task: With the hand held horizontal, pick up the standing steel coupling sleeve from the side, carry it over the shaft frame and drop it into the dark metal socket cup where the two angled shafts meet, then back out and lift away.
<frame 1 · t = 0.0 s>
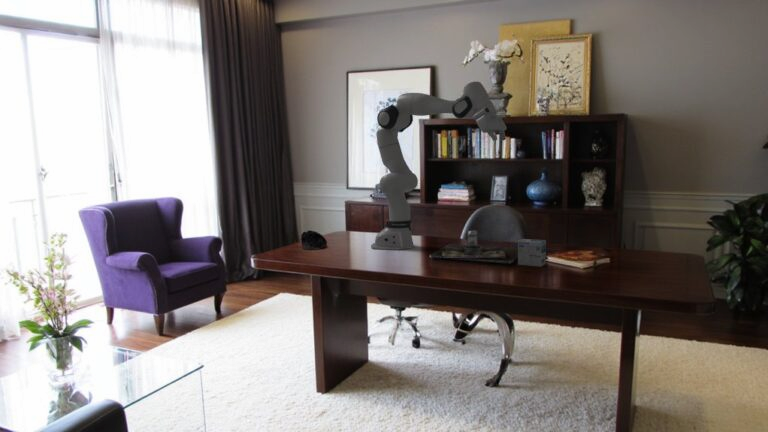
hand: (500, 140, 252), 54 cm above the table, fingers open, 8 cm apart
crystal cluster: (314, 248, 296), on the table
coupling sleeve: (472, 251, 276), on the table
light bulb box: (531, 264, 245), on the table
shaft frame: (473, 256, 263), on the table
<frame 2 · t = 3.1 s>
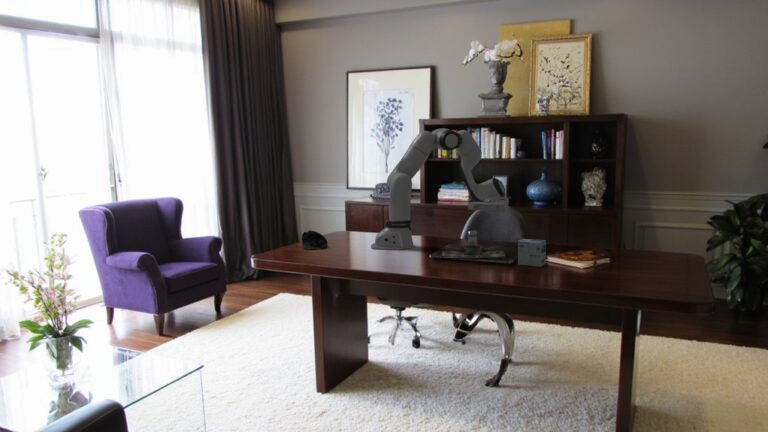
hand: (481, 208, 284), 20 cm above the table, fingers open, 8 cm apart
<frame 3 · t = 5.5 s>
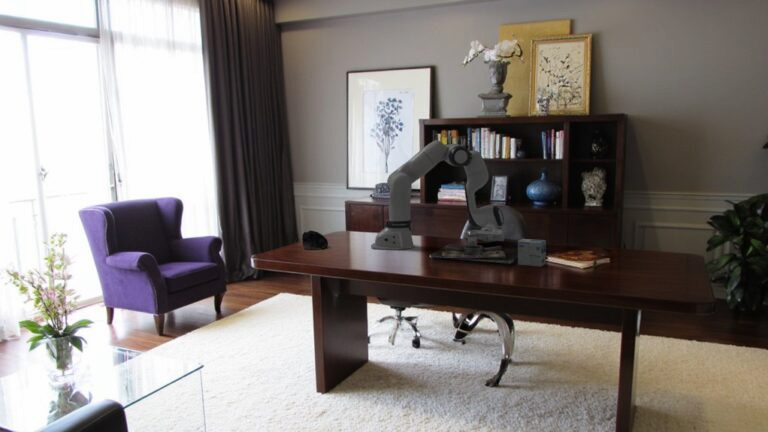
hand: (478, 237, 282), 5 cm above the table, fingers open, 8 cm apart
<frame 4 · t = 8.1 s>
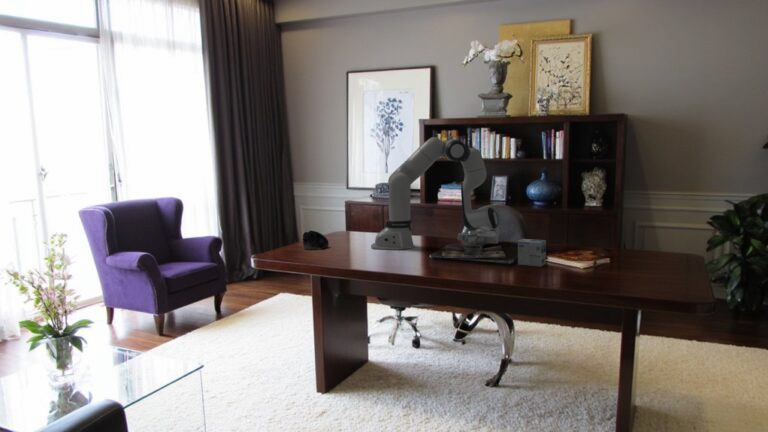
hand: (471, 240, 275), 6 cm above the table, fingers closed on coupling sleeve, 4 cm apart
coupling sleeve: (472, 251, 276), on the table, touching gripper
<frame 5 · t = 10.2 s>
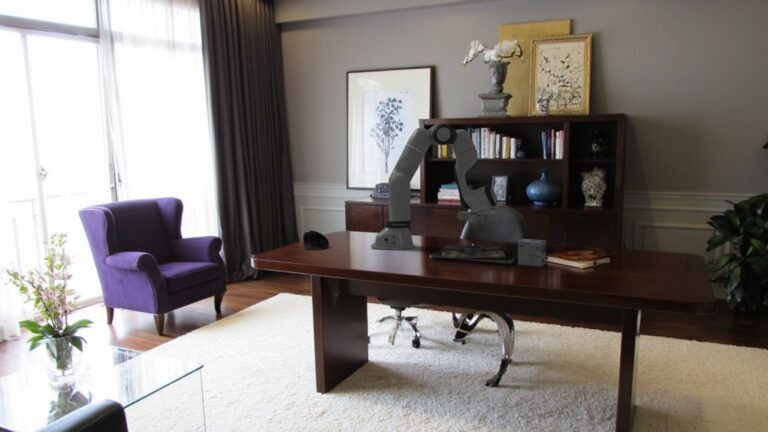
hand: (471, 218, 271), 17 cm above the table, fingers closed on coupling sleeve, 4 cm apart
coupling sleeve: (472, 229, 273), point 11 cm above the table, touching gripper
when the fingers open (9 cm above the table, at t = 12.7 s): coupling sleeve drops 2 cm, resting on shaft frame.
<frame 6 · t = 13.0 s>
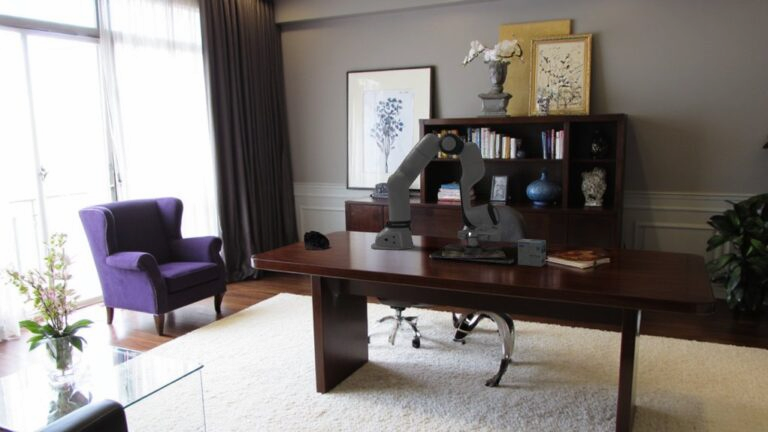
hand: (472, 238, 262), 9 cm above the table, fingers open, 7 cm apart
coupling sleeve: (473, 253, 263), point 2 cm above the table, touching shaft frame
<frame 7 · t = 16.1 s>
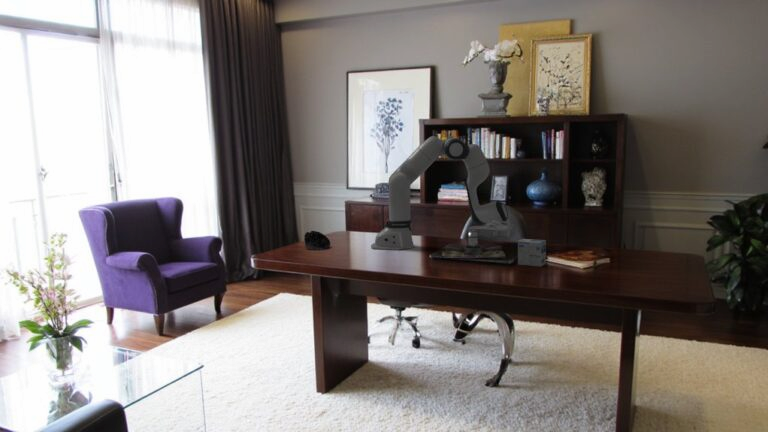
hand: (483, 233, 272), 9 cm above the table, fingers open, 8 cm apart
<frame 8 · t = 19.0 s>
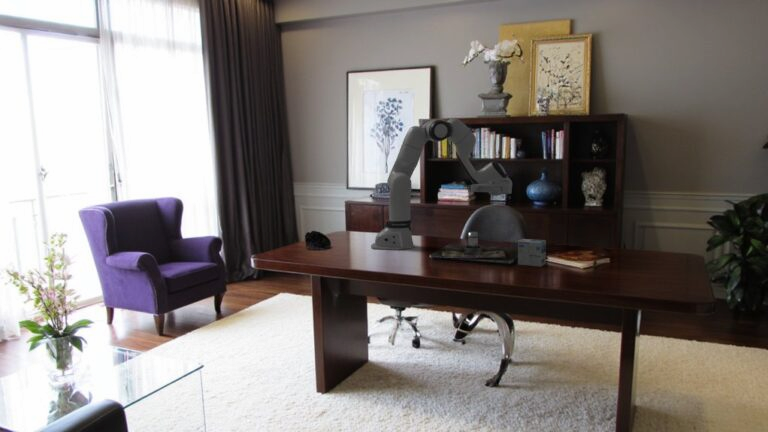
hand: (485, 189, 277), 30 cm above the table, fingers open, 8 cm apart
at the end: coupling sleeve 0.0 cm off-centre on the shaft frame, point 1.5 cm above the shaft frame's base; coupling sleeve tilted 0°; the gripper is holding nothing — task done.
